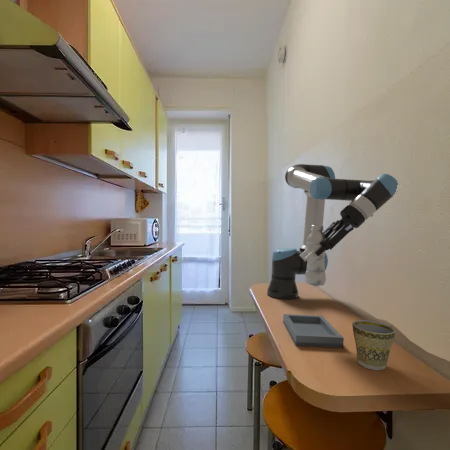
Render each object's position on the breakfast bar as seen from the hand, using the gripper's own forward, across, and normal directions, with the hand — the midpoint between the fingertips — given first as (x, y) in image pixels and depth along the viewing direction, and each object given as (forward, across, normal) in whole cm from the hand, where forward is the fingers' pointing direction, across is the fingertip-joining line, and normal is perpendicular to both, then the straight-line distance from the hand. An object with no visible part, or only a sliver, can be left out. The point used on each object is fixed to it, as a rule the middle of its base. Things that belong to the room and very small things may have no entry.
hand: (305, 259), depth 98 cm
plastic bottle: (+4, 0, -9) cm, 9 cm away
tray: (+15, -1, -19) cm, 24 cm away
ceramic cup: (+7, -20, -28) cm, 35 cm away
